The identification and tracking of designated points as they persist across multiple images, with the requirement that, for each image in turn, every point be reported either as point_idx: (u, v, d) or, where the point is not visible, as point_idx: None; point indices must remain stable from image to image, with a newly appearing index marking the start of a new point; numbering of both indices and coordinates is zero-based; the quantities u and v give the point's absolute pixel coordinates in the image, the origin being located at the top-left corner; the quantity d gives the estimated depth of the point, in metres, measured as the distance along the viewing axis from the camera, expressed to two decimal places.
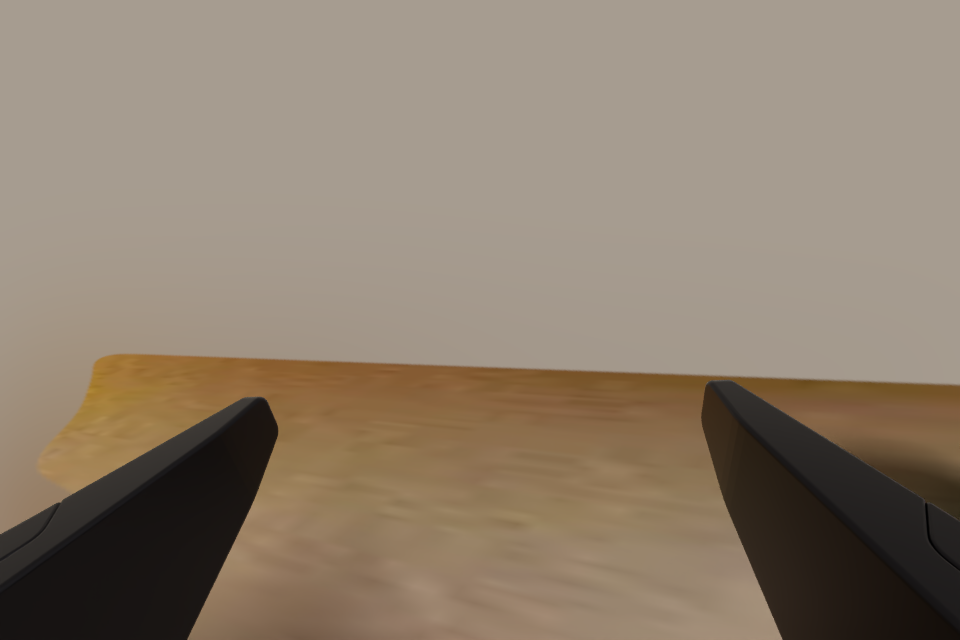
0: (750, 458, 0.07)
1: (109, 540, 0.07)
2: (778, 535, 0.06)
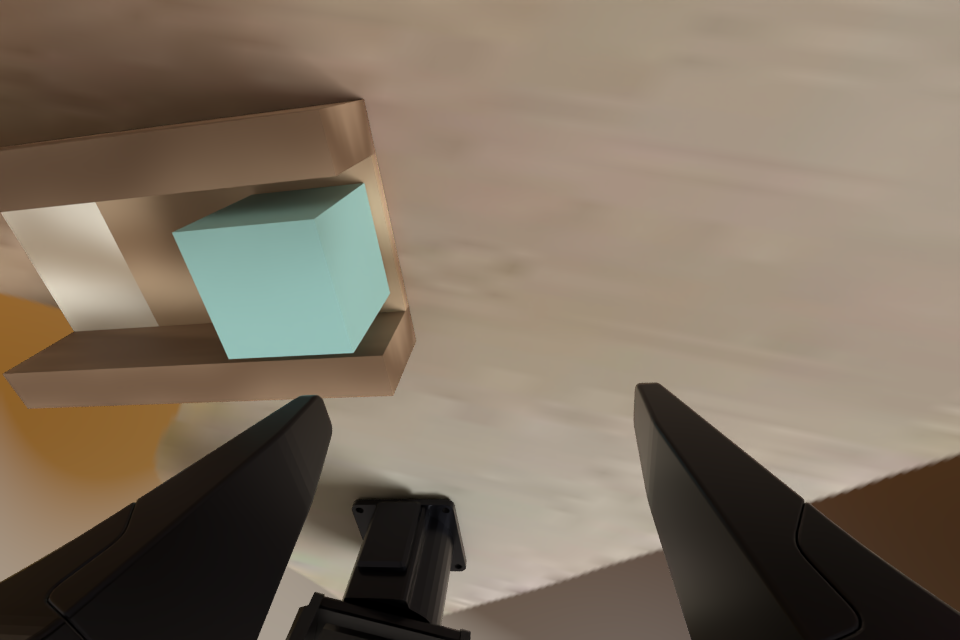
0: (662, 459, 0.07)
1: (187, 540, 0.07)
2: (682, 534, 0.07)
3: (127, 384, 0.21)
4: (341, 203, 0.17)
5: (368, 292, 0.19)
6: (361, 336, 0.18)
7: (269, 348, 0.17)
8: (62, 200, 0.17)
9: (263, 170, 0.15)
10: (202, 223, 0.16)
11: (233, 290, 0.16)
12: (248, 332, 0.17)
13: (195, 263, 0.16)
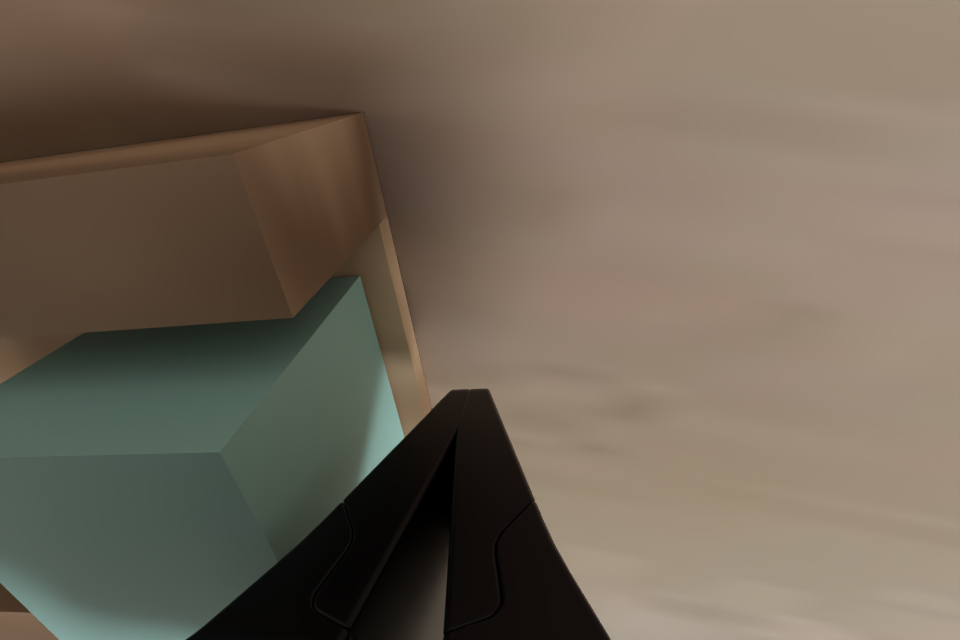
0: None
1: (405, 544, 0.06)
2: None
3: None
4: (308, 351, 0.07)
5: None
6: None
7: None
8: None
9: (110, 302, 0.06)
10: None
11: (56, 566, 0.07)
12: (108, 629, 0.08)
13: None
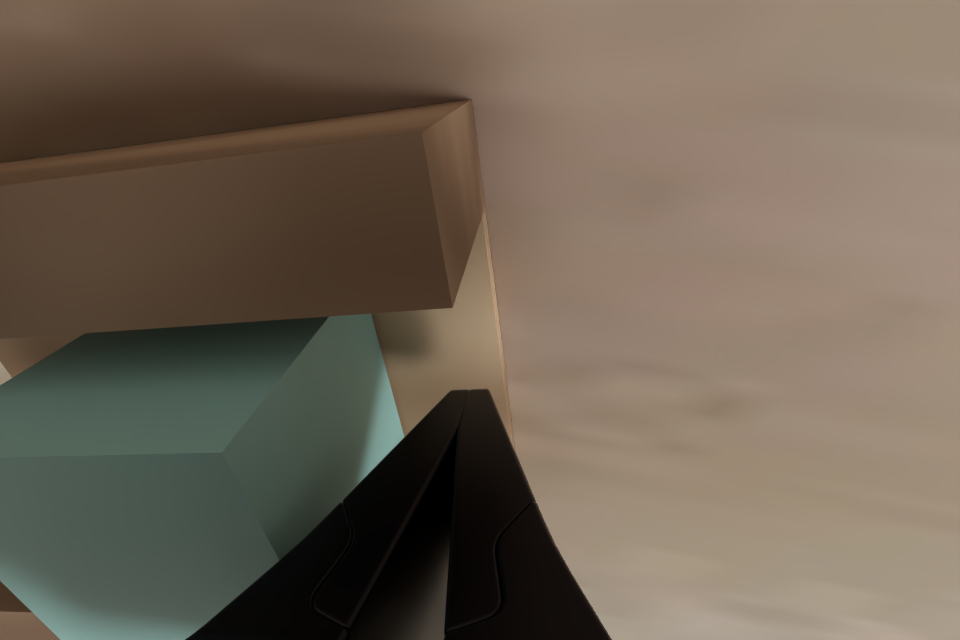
0: None
1: (404, 544, 0.06)
2: None
3: (12, 631, 0.11)
4: (309, 351, 0.07)
5: None
6: None
7: None
8: None
9: (257, 291, 0.06)
10: None
11: (57, 566, 0.07)
12: (109, 628, 0.08)
13: None
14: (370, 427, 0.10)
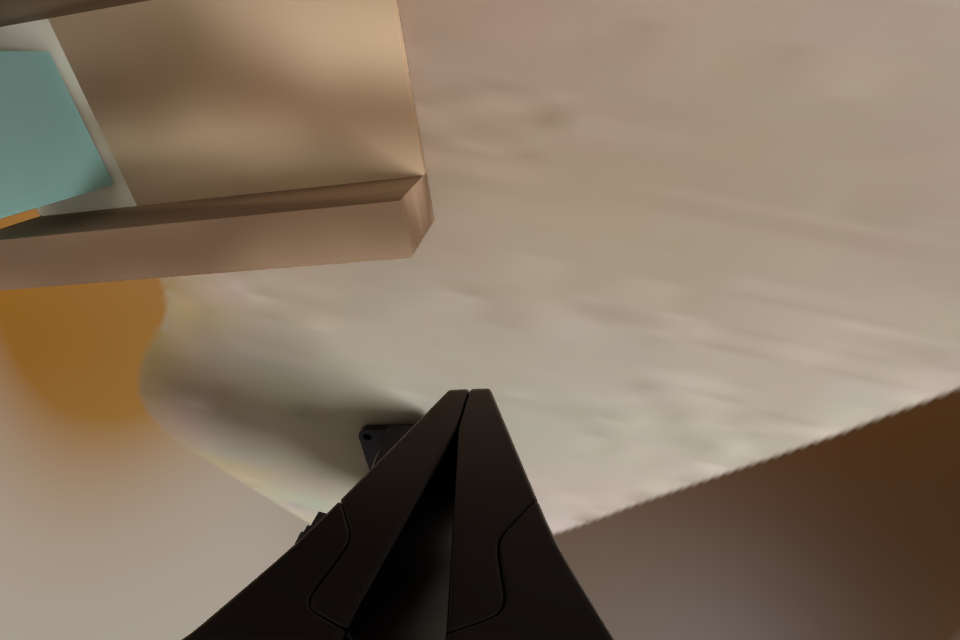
0: None
1: (403, 544, 0.06)
2: None
3: (95, 254, 0.17)
4: None
5: (49, 167, 0.17)
6: (25, 209, 0.17)
7: None
8: None
9: None
10: None
11: None
12: None
13: None
14: (53, 134, 0.18)
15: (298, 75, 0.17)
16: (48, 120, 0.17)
